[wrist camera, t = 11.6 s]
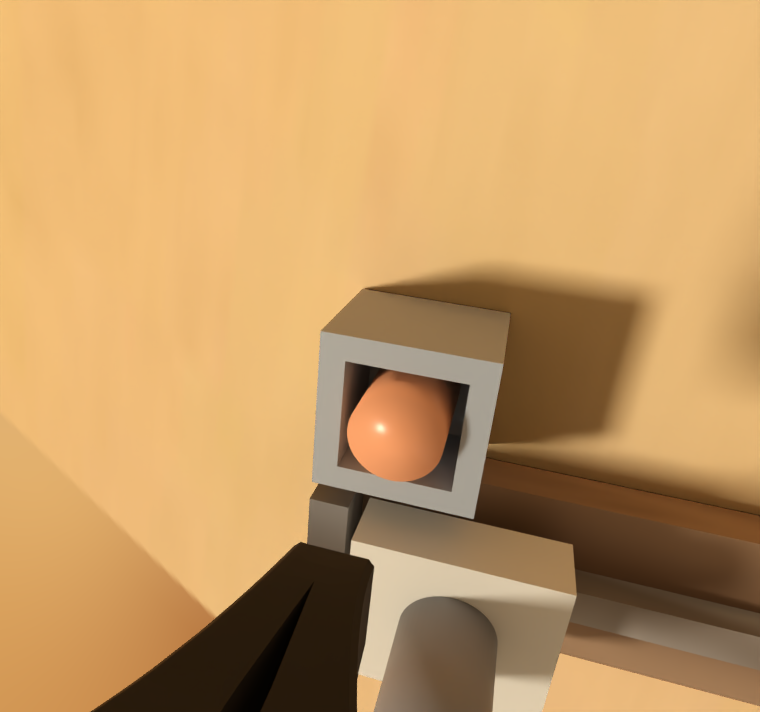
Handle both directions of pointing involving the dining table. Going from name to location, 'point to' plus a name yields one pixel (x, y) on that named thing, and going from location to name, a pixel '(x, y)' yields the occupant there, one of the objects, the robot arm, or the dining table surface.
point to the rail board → (622, 571)
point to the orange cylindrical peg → (402, 424)
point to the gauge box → (420, 357)
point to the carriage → (461, 611)
